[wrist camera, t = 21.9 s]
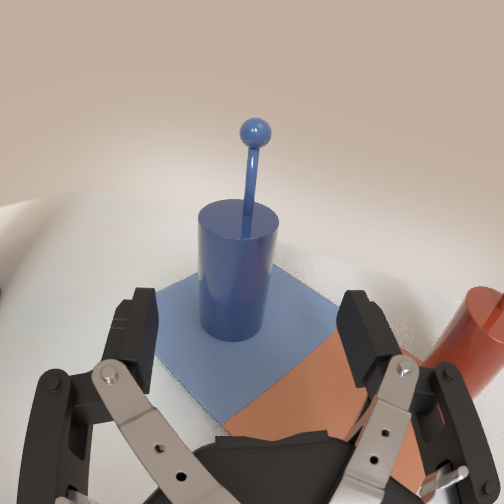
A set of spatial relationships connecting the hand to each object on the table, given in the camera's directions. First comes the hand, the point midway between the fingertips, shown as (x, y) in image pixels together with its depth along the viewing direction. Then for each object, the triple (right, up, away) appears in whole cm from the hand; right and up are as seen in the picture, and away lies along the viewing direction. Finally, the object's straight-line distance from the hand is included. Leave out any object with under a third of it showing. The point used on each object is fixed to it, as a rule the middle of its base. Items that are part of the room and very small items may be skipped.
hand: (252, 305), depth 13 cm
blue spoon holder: (-2, -4, +15) cm, 15 cm away
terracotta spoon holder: (+15, -10, +8) cm, 20 cm away
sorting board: (+4, -7, +12) cm, 14 cm away
